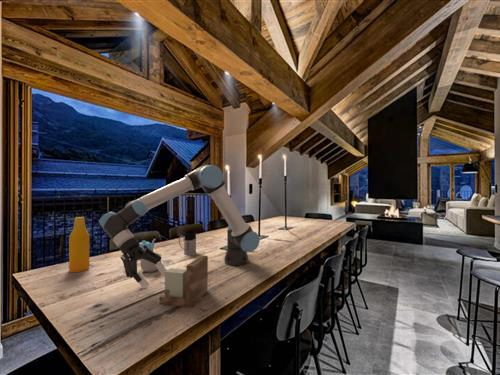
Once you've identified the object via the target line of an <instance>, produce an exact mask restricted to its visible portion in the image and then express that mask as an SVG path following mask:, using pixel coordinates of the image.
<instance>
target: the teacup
mask: <svg viewBox="0 0 500 375" xmlns="http://www.w3.org/2000/svg"><path fill="white" fill-rule="evenodd" d="M155 253H156V254H157V255H159V256H160V257H161V258H162V254H160V253H157V252H155ZM139 262H140V268H141V270H142V271H143V272H146V273H153V272H156V271H157V270H158V269H157V268H156V266H155V265H156V264H154V263H152V262H150V261H147V260H145V259H140V261H139ZM160 262H161V263H162V259H161V260H160ZM158 271H159V270H158Z"/></svg>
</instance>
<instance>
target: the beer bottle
mask: <svg viewBox="0 0 500 375" xmlns="http://www.w3.org/2000/svg"><path fill="white" fill-rule="evenodd" d="M85 222H86V221H85V216H79V217H78V216H76V217H74V223H73V227H72V228H73V229H72V230H71V232H70V234H69V238H68V243H69V244H68V254H69V255H68V258H69V259H68V261H69V262H68V270H69V272H70V273H80V272H85V271H87V270H88V269H89V268H90V234H89V232H88V230H87V228H86V223H85Z"/></svg>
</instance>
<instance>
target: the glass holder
mask: <svg viewBox="0 0 500 375" xmlns="http://www.w3.org/2000/svg"><path fill="white" fill-rule="evenodd" d="M182 237H183V238H182ZM181 238H182V239H183V241H184V242H183V243H184V246H183V247H182V245H181V241H180V240H181ZM178 243H179V244H178V245H179V247H180V248H181V249H183V256H194V255H197V231H195V230H187V231H184V235H180V236H179V238H178Z"/></svg>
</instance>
